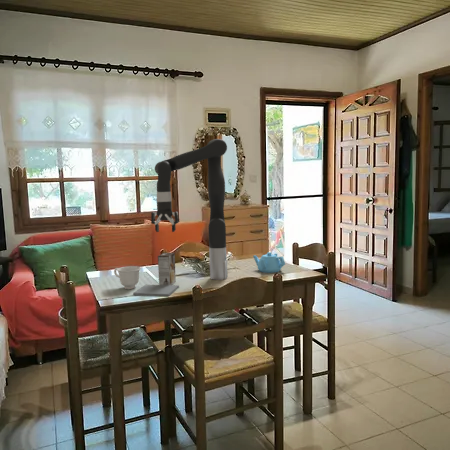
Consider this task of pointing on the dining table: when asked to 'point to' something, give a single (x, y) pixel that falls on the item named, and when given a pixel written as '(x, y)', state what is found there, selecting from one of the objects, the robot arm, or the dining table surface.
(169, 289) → the mat
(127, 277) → the teacup
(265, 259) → the teapot
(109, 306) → the dining table surface
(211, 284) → the dining table surface
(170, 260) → the coffee box
